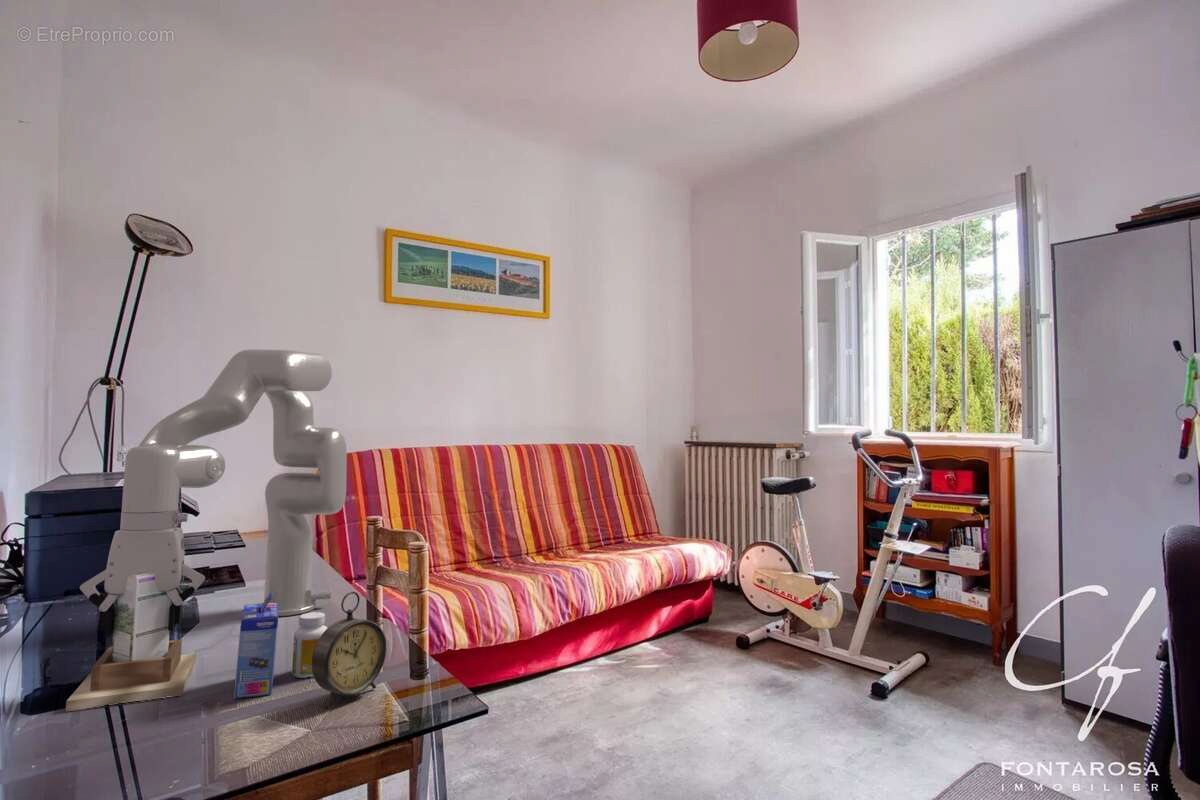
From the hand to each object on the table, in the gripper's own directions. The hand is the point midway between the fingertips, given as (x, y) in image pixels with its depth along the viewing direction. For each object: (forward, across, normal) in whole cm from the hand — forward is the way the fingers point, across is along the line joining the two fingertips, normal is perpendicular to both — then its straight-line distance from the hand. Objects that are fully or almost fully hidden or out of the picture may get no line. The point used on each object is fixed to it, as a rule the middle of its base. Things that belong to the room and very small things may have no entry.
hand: (141, 630), depth 100 cm
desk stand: (+8, 0, 0) cm, 8 cm away
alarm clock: (+9, -30, +18) cm, 36 cm away
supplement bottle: (+9, -25, +5) cm, 27 cm away
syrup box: (+5, 0, 0) cm, 5 cm away
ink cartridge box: (+9, -17, +8) cm, 21 cm away
